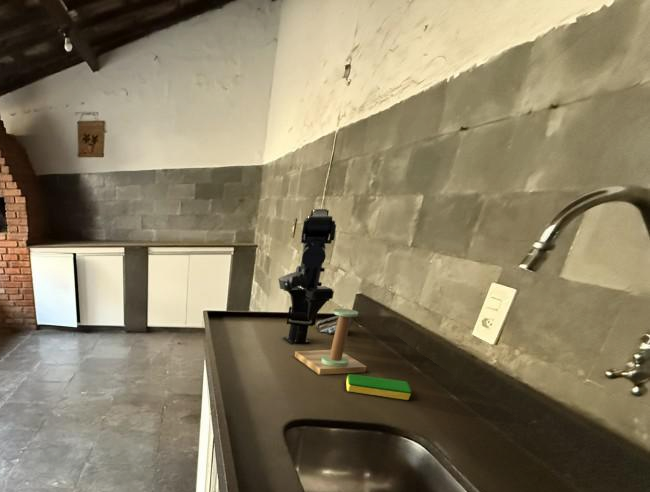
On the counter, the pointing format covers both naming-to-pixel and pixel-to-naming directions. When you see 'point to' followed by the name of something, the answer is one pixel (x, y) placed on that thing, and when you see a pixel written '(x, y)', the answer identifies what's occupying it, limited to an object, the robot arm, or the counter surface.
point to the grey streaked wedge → (329, 324)
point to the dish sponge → (378, 386)
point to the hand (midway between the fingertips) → (301, 316)
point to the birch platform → (315, 363)
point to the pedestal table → (344, 360)
